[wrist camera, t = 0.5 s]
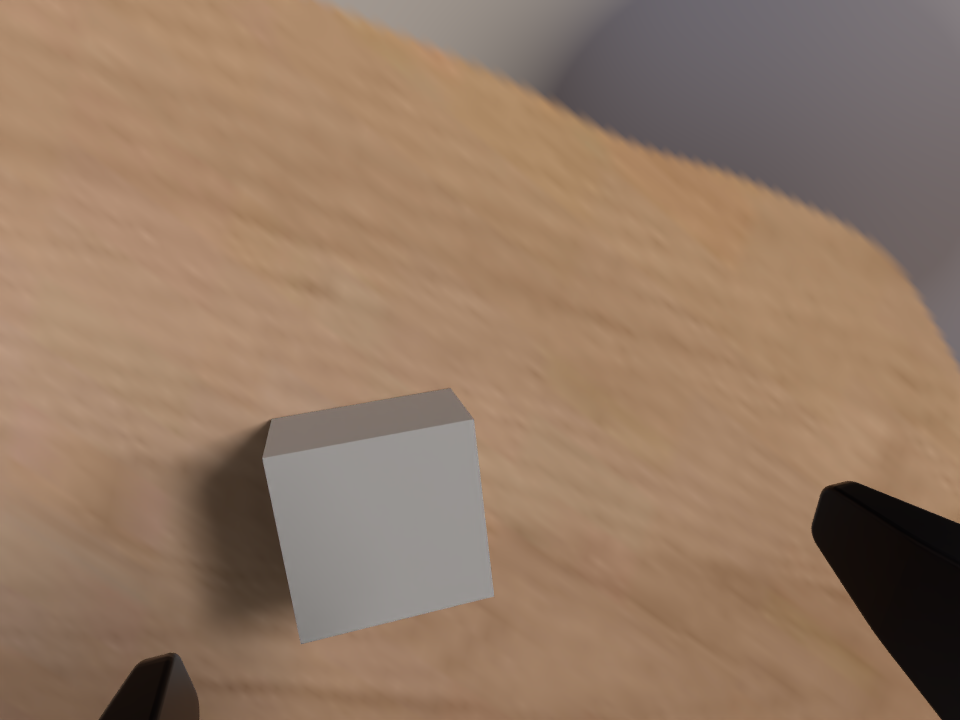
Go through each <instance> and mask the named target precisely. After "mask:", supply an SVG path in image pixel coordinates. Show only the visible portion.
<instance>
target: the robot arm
mask: <svg viewBox="0 0 960 720" xmlns="http://www.w3.org/2000/svg"><path fill="white" fill-rule="evenodd" d="M811 529H812V535H813V538H814V541H815V543H816V545H817V546H818V548H819V549H820V551H821V552H822V554H823V555H824V557H825V558H826V560H827V561H828V563H829V565H830V566H831V568H832V569H833V571H834V572H835V574H836V575H837V577H838V578H839V580H840V581H841V583H842V584H843V586H844V588H845V589H846V591H847V592H848V594H849V595H850V597H851V598H852V600H853V601H854V603H855V604H856V606H857V608H858V609H859V611H860V612H861V614H862V615H863V617H864V618H865V620H866V621H867V623H868V624H869V626H870V627H871V629H872V630H873V631H874V633H875V634H876V636H877V637H878V638H879V640H880V641H881V642H882V644H883V645H884V646H885V648H886V649H887V650H888V652H889V653H890V654H891V656H892V657H893V658H894V659H895V661H896V662H897V663H898V665H899V666H900V667H901V668H902V670H903V671H904V672H905V673H906V675H907V676H908V677H909V679H910V680H911V681H912V682H913V684H914V685H915V686H916V688H917V689H918V690H919V691H920V693H921V694H922V695H923V696H924V698H925V699H926V700H927V702H928V703H929V704H930V705H931V707H932V708H933V709H934V710H935V712H936V713H937V714H938V716H939V717H940V718H941V719H942V720H960V524H959V523H956V522H954V521H951V520H949V519H946V518H944V517H942V516H939V515H937V514H934V513H932V512H929V511H927V510H924V509H922V508H919V507H917V506H914V505H912V504H909V503H907V502H904V501H902V500H899V499H897V498H894V497H892V496H889V495H887V494H884V493H882V492H879V491H877V490H874V489H872V488H869V487H867V486H864V485H862V484H859V483H857V482H853V481H846V482H841V483H837V484H833V485H829V486H827V487H825V488H824V489H823V490H822V492H821V494H820V498H819V501H818V505H817V508H816V512H815V515H814V519H813V522H812V527H811ZM99 720H199V702H198V697H197V693H196V690H195V688H194V686H193V684H192V681H191V679H190V677H189V675H188V673H187V671H186V668H185V666H184V664H183V662H182V660H181V658H180V657H179V655H177V654H176V653H168V654H164V655H160V656H156V657H152V658H148V659H145V660H142V661H141V662H139V663H138V664H137V665H136V666H135V667H134V668H133V670H132V671H131V673H130V674H129V676H128V677H127V679H126V680H125V682H124V683H123V684H122V686H121V687H120V689H119V690H118V692H117V693H116V695H115V696H114V698H113V699H112V701H111V702H110V704H109V705H108V707H107V708H106V709H105V711H104V712H103V714H102V715H101V717H100V718H99Z"/></svg>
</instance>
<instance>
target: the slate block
mask: <svg viewBox="0 0 960 720" xmlns="http://www.w3.org/2000/svg"><path fill="white" fill-rule="evenodd" d="M262 459H263V464H264V469H265V473H266V478H267V483H268V488H269V493H270V498H271V502H272V507H273V512H274V517H275V522H276V527H277V531H278V536H279V541H280V546H281V551H282V555H283V560H284V565H285V570H286V575H287V580H288V584H289V589H290V594H291V599H292V604H293V609H294V613H295V618H296V623H297V628H298V633H299V637H300V642H301V644H304V643H308V642H312V641H316V640H320V639H324V638H328V637H332V636H336V635H340V634H344V633H348V632H352V631H356V630H360V629H364V628H368V627H372V626H376V625H380V624H384V623H388V622H392V621H396V620H401V619H405V618H409V617H413V616H417V615H421V614H425V613H429V612H433V611H437V610H441V609H445V608H449V607H453V606H457V605H461V604H465V603H469V602H473V601H477V600H481V599H485V598H489V597H493V596H494V591H493V582H492V574H491V565H490V556H489V548H488V539H487V530H486V521H485V513H484V504H483V495H482V487H481V478H480V469H479V461H478V452H477V443H476V434H475V426H474V419H473V417H472V416H471V415H470V413H469V412H468V411H467V410H466V408H465V407H464V406H463V404H462V403H461V402H460V400H459V399H458V398H457V396H456V395H455V394H454V392H453V391H452V390H451V388H448V389H443V390H437V391H431V392H425V393H420V394H414V395H408V396H402V397H396V398H391V399H385V400H379V401H373V402H368V403H362V404H356V405H350V406H345V407H339V408H333V409H327V410H321V411H316V412H310V413H304V414H298V415H293V416H287V417H281V418H275V419H272V420H271V424H270V428H269V432H268V437H267V441H266V445H265V449H264V453H263V458H262Z"/></svg>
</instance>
